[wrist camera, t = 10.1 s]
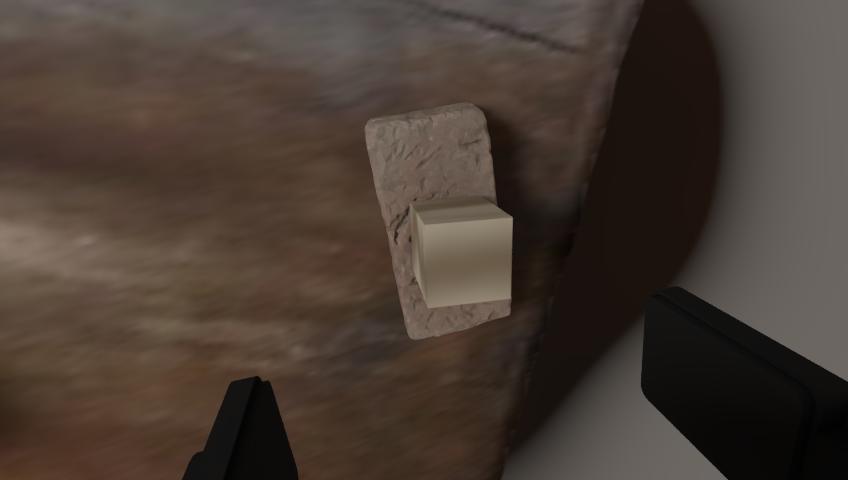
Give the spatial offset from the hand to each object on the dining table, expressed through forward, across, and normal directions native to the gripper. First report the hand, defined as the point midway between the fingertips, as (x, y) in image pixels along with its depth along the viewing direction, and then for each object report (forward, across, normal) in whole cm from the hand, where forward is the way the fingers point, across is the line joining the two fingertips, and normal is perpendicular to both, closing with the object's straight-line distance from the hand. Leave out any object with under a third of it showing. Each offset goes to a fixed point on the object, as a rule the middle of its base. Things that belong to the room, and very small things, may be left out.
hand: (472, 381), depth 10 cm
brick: (+24, -4, +3) cm, 24 cm away
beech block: (+19, -4, +3) cm, 20 cm away
